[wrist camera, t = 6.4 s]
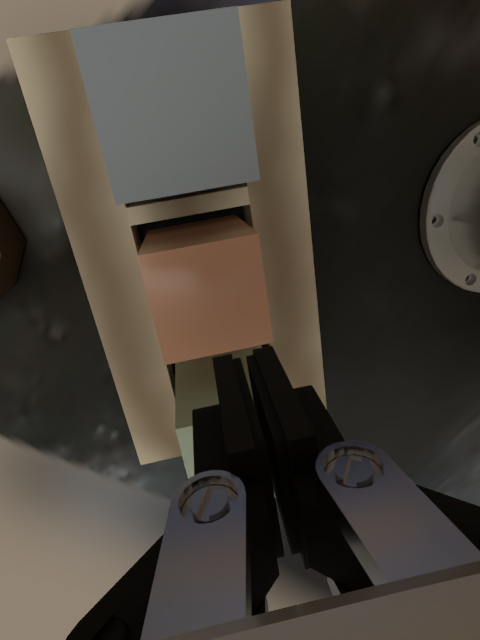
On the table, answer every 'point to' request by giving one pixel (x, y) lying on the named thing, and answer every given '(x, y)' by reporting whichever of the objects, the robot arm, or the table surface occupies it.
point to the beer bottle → (9, 251)
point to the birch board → (121, 220)
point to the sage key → (198, 396)
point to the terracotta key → (205, 288)
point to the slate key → (169, 102)
